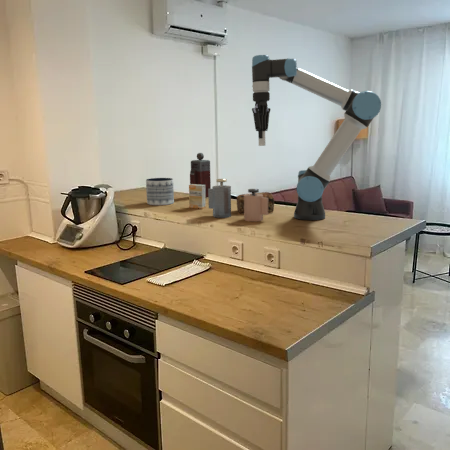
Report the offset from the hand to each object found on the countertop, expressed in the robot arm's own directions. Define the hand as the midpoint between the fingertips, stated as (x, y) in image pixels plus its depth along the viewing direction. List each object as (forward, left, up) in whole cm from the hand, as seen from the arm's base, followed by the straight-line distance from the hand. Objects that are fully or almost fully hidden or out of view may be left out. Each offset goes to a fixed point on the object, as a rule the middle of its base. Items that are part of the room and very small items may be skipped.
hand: (262, 145), depth 212 cm
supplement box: (-17, -49, -36) cm, 63 cm away
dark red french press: (-51, -71, -36) cm, 95 cm away
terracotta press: (-3, -5, -36) cm, 36 cm away
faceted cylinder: (-3, -26, -36) cm, 44 cm away
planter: (-20, -78, -36) cm, 88 cm away
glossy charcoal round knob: (-3, -6, -33) cm, 33 cm away
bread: (-23, -16, -36) cm, 46 cm away
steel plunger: (-3, -24, -30) cm, 38 cm away
